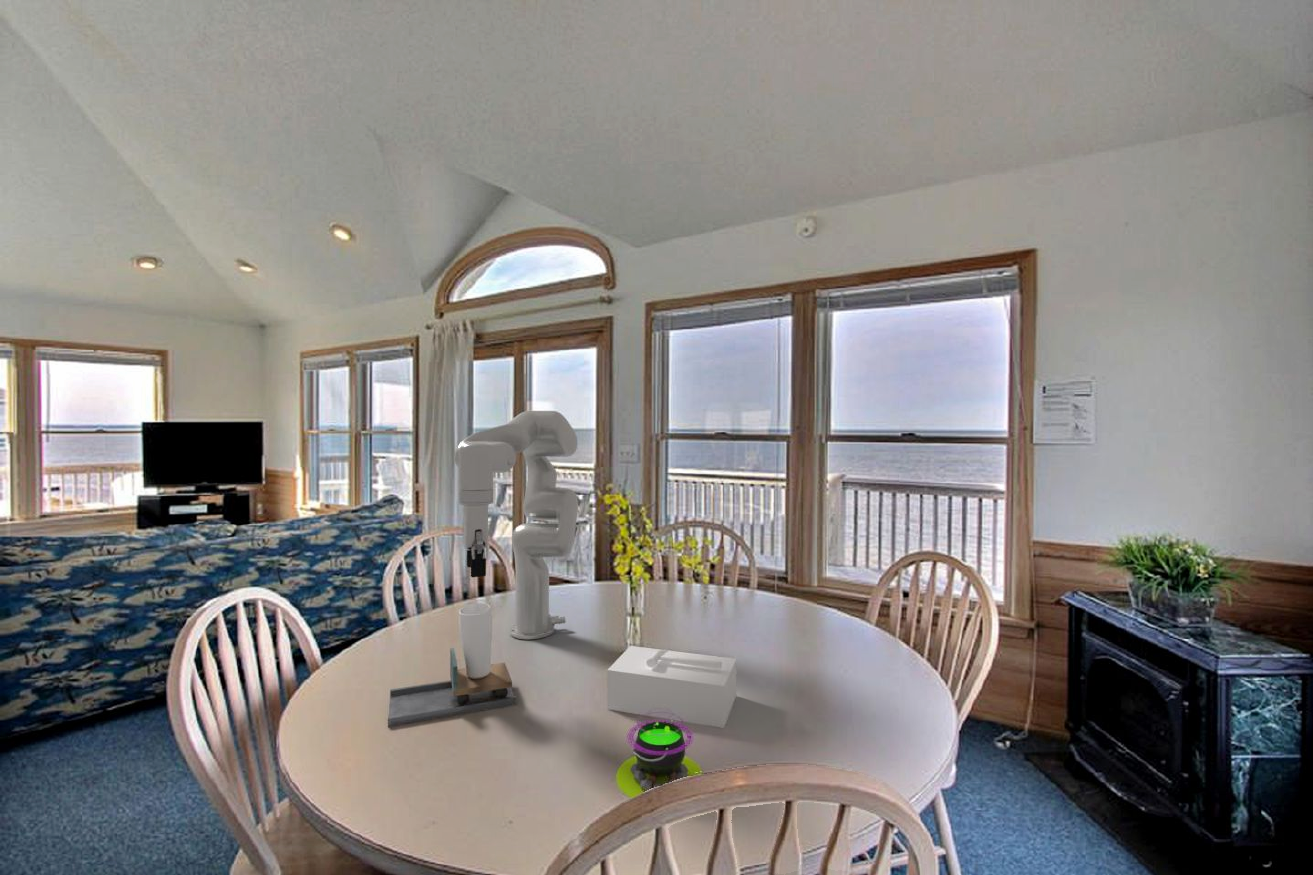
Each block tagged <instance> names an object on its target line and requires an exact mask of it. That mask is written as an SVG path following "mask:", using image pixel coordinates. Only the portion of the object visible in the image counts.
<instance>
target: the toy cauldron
mask: <svg viewBox="0 0 1313 875" xmlns="http://www.w3.org/2000/svg"><path fill="white" fill-rule="evenodd" d="M658 709H662V707H658ZM666 710H667V709H666ZM669 710H670V709H669ZM669 710H668V711H669ZM649 711H650V710H649ZM649 711H648V712H649ZM651 713H652V712H651ZM651 713H648V714H651ZM656 713H661V712H656ZM664 713H665V712H664ZM667 713H668V712H667ZM670 713H671V712H670ZM672 713H673V712H672ZM672 713H671V714H670V715H675V714H672ZM645 716H647V714H645V715H641V716H640V717H639V718H638V719H637V722H636V724H635V725H634V727H631V728H630V729H629V730H628V732H627V733H626V734H627V735H626V736H627V737H628V738H626V739H627V743H628V744H629V745H631V747H632V748H633V751H632V753H633V755H634V756H632V757H630V758H628V759H627V760H625V761H624V762H623V763H622V764H621V765H620V766H619V768H618V769H617V771H616V776H615V781H616V785H617V786H618V788H619V790H621V792H622V793H623V794H625V795H626V796H627V797H628V798H631V797H636V796H637V795H639V794H641V793H643V792H645V791H647V790H649V789H651V788H654V787H657V786H662V785H663V784H665V783H669V782H672V781H674V780H677V779H680V778H683V777H687V776H694V775H698V774H703V775H704V772H703V771H702V769H701V767H700V766H699V765H698V763H696V762H695V761H694V760H692V759H691V758H689V757H687V756H686V749H688V747H690V746H691V745H692V744H693V741H694V739H695V738H694V733H693V731H692V730H691V729H690V728H689V727H687V726H686V725H684V721H683V720H682V719H681V721H680V722H677V721H675V720H672V719H667V720H666V718H662V719H661V718H656V717H653V716H649V715H648V716H647V717H649V718H651V719H652V720H646V721H643V722H640V720H641V719H642V718H643V717H645ZM675 716H676V715H675ZM670 717H672V716H670ZM678 718H679V716H678ZM679 719H680V718H679ZM682 730H683V731H682ZM636 731H638V732H637V735H636V737H635V736H634V735H635V733H636ZM683 732H684V733H685V735H686V740H685V739H684V733H683ZM700 771H702V772H700ZM695 772H698V773H695ZM631 799H632V798H631Z"/></svg>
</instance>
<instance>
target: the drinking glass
mask: <svg viewBox="0 0 1313 875" xmlns="http://www.w3.org/2000/svg"><path fill="white" fill-rule="evenodd" d="M492 623H493V620H492V609H491V605H489V604H488V603H485V602H484V603H483V602H476V603H470V604H467V605H464V606H463V607H461V608H460V609H459V610H458V624H459V632H460V639H461V645H462V651H463V656H464V664H465V668H466V674H467V676H468V677H470V678H473V679H478V678H483V677H485V676H487V675H488V674H489V673H490V672H491V664H492V635H493V634H492V632H493V631H492V630H493V629H492V628H493V627H492V626H493V624H492Z"/></svg>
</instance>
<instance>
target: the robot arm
mask: <svg viewBox="0 0 1313 875" xmlns="http://www.w3.org/2000/svg"><path fill="white" fill-rule="evenodd" d="M577 449H578V437H577V434H576V431H575V430H574V428H573V427H572V426H571V424H570V422H569V421H568V420H567V418H566V417H565V416H564V415H563V414H562V413H561V412H559V411H556V410H526V411H525V410H524V411H523V412H520V413H519V414H517V415H516V416H515V417H513V418H512V419H511V420H509V421H508V422H507V423H505V424H502V425H497V426H495V427H491V428H488V429H485V430H481V431H478V432H475V433H472V434H470V435H469V436H467V437H466V438H464V439H463V440H462V441H461V442H460V443H459V444H458V446H457V447H456V449H455V453H454V463H455V465H456V467H457V468H458V505H461V506H463V507H462V536H461V537H462V538H461V539H462V540H461V542H462V546H463V547H464V549H465V550H466V567H467V568H470V577H471V578H480V577H482V578H483V577H486V575H487V558H486V548H487V547H488V543H489V542H488V541H489V505H492V504H494V474H498V473H499V474H503V473H506V472H508V471H510V470H512V469H513V468H514V467H515V464H516V462H517V454H520V453H522V454H523V457H524V459H525V462H526V463H525V464H526V466H527V468H528V469H527V470H528V471H527V473H528V474H527V476H528V477H527V483H526V488H525V493H524V494H525V495H524V498H523V499H524V500H523V514H524V515H525V517H526V518H528V519H531V520H535V521H536V520H537V521H558V523H543V522H542V523H540V522H526V523H522V524H519V525H517V526H516V527H515V528H514V530H513V532H512V535H511V542H512V544H511V545H512V551H513V554H514V556H513V557H514V563H515V565H514V566H515V569H514V570H515V606H514V607H515V609H514V610H515V621H514V624H515V625H512V626H511V627H510V628H509V635H510V636H511V637H513V638H516V639H520V640H538V639H542V638H545V637H549V636H551V635H552V634H553V633H554V632H555V625H562V624H566V617H565V616H560V615H553V616H551V614H550V572H549V567H548V565H547V563H546V561H545V560H544V559H543V558H557V559H558V558H559V559H563V558H567V557H569V555H570V554H571V553H572V551H573V546H574V541H575V534H576V527H577V526H576V525H577V521H578V520H577V519H578V511H579V510H578V509H579V501H578V495H577V494H576V492H575V491H574V490H573V489H570V488H563V487H562V488H561V487H559V488H558V487H556V486H557V479H558V473H557V470H556V468H555V467H554V465H553V463H551V461H550V460H549V459H548V457H549V458H550V457H551V458H552V457H553V458H554V457H560V458H561V457H562V458H565V457H566V458H567V457H570V456H573V455H575V453H576V451H577Z"/></svg>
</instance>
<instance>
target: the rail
mask: <svg viewBox="0 0 1313 875" xmlns="http://www.w3.org/2000/svg"><path fill="white" fill-rule="evenodd" d="M389 690H390V691H389V692H390V694H389V703H388V704H389V705H388V717H387V728H389V727H390V728H391V727H395V726H399V725H401V724H402V725H406V724H413V723H417V722H424V721H425V722H426V721H430V720H436V719H441V718H446V717H452V716H459V715H463V714H464V715H465V714H470V713H475V712H481V711H487V710H493V709H499V708H506V707H509V706H515V705H517V696H516V695H514V692H513V690H512V687H509V688H507V690H508V694H507V696H506V697H505V698H498V697H497V695H496V690H490V691H484V692H478V693H472V694H468V695H469V701H468V703H467V704H463V705H460V704H458V702H457V696H453V690H452V684H451V679H450V680H445V681H438V682H431V683H430V682H429V683H424V684H419V685H417V684H416V685H411V686H405V687H399V688H398V687H397V688H391V689H389Z"/></svg>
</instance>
